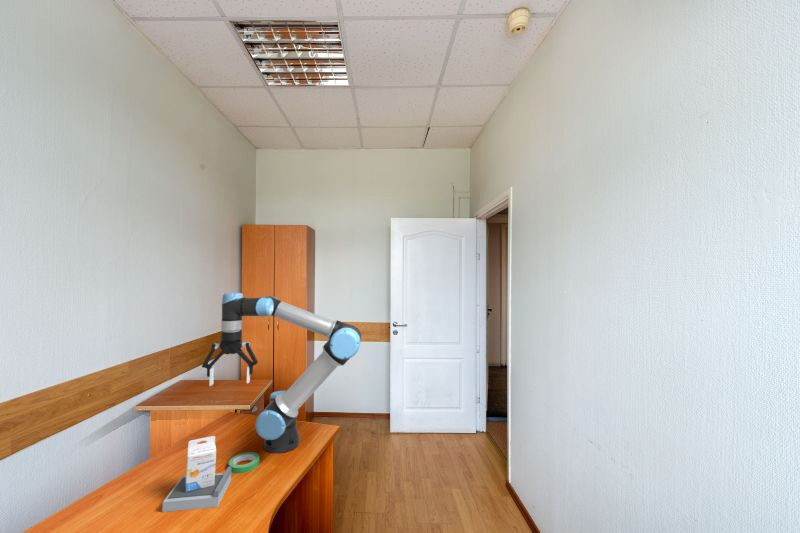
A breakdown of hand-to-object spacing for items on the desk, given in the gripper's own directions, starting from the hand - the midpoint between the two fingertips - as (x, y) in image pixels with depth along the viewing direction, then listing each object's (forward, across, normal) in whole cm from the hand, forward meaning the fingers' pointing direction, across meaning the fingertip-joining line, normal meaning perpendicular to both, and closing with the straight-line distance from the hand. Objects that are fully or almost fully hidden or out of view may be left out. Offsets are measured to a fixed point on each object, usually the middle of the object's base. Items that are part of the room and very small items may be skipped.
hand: (230, 383), depth 135 cm
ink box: (+28, +4, +21) cm, 35 cm away
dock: (+31, +4, +21) cm, 37 cm away
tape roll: (+31, -7, +4) cm, 33 cm away
